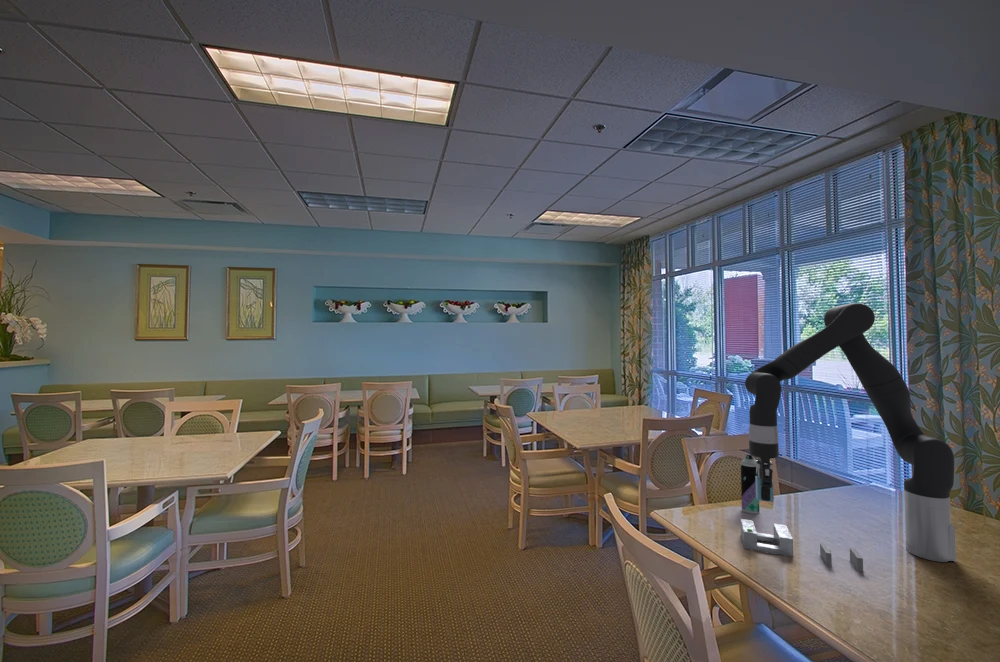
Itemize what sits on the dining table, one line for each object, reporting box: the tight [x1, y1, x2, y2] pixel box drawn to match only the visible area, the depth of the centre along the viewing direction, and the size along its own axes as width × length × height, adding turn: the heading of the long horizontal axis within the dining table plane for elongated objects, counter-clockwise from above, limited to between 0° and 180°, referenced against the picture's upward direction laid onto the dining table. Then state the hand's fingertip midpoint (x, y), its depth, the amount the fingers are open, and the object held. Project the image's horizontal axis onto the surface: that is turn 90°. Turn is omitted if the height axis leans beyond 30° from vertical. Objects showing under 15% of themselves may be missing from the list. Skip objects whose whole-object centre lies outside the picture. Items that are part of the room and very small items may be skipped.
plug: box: [755, 475, 774, 503], centre depth 128 cm, size 4×4×7 cm
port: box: [740, 518, 794, 558], centre depth 127 cm, size 12×10×6 cm
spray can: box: [740, 453, 760, 515], centre depth 153 cm, size 6×6×20 cm
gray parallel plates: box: [819, 542, 864, 573], centre depth 116 cm, size 8×6×4 cm
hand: (764, 497), depth 127 cm, fingers closed on plug, 4 cm apart
